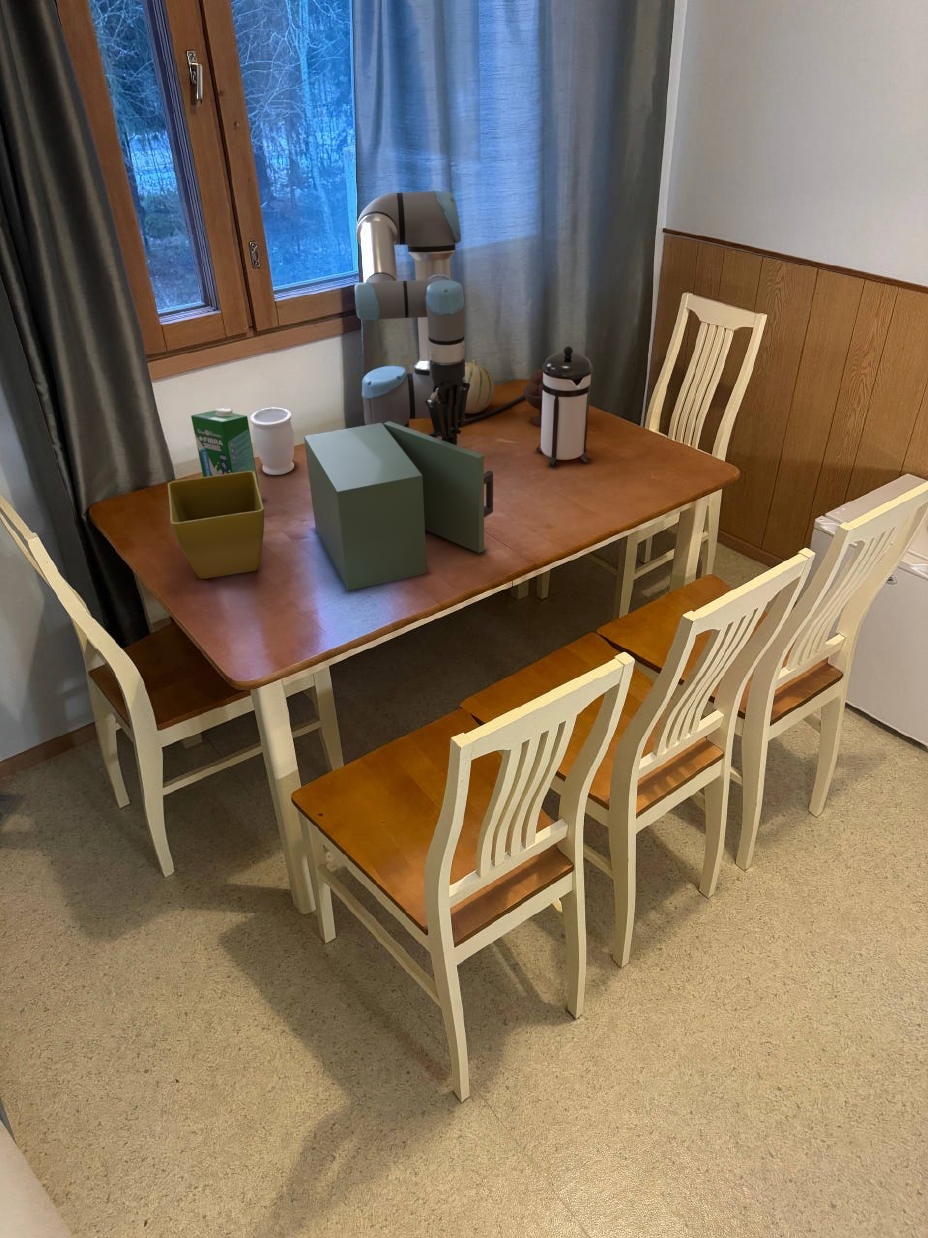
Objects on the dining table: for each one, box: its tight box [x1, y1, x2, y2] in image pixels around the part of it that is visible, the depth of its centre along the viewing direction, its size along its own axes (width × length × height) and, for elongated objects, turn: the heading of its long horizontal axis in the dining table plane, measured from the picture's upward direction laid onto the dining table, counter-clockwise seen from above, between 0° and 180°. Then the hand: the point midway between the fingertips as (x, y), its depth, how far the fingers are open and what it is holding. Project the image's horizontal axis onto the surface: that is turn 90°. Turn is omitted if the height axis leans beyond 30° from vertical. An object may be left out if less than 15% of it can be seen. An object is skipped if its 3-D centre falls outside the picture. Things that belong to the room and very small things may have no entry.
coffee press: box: [536, 346, 594, 468], centre depth 241 cm, size 17×16×30 cm
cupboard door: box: [384, 421, 494, 554], centre depth 212 cm, size 8×28×24 cm, turn 50°
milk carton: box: [190, 407, 261, 493], centre depth 222 cm, size 9×9×25 cm
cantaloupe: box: [465, 358, 496, 415], centre depth 269 cm, size 15×15×15 cm
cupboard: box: [303, 423, 428, 592], centre depth 204 cm, size 18×28×24 cm, turn 21°
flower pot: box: [167, 471, 265, 580], centre depth 204 cm, size 19×19×17 cm
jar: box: [249, 407, 295, 476], centre depth 241 cm, size 11×10×15 cm
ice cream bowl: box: [522, 368, 543, 427], centre depth 262 cm, size 11×11×15 cm
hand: (450, 460), depth 209 cm, fingers closed
